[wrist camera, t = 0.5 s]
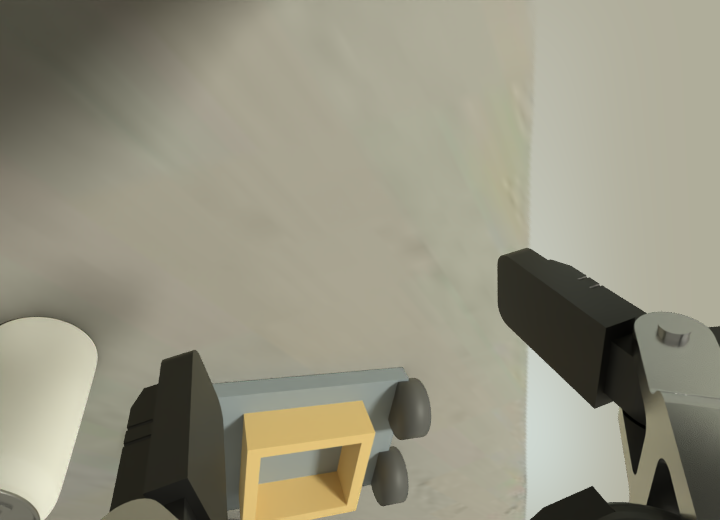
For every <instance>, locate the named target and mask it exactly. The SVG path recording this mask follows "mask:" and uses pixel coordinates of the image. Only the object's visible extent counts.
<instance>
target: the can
mask: <svg viewBox="0 0 720 520" xmlns="http://www.w3.org/2000/svg"><path fill="white" fill-rule="evenodd" d="M97 360H98V355H97V350H96V347H95V345H94V343H93V341H92V340H91V339H90V337H89V336H88V335H87V334H86V333H84V332H83V331H82V330H80V329H79V328H77V327H76V326H74V325H72V324H70V323H67V322H65V321H62V320H58V319H53V318H46V317H28V318H21V319H16V320H13V321H10V322H7V323H5V324H2V325H1V326H0V520H44V519H45V518H46V517H47V516H48V515H49V513H50V512H51V511H52V509H53V508H54V506H55V504H56V502H57V500H58V497H59V494H60V491H61V488H62V485H63V482H64V478H65V475H66V472H67V468H68V465H69V461H70V458H71V454H72V451H73V448H74V444H75V441H76V437H77V434H78V430H79V427H80V423H81V420H82V416H83V413H84V409H85V406H86V402H87V399H88V395H89V391H90V388H91V384H92V381H93V377H94V373H95V370H96V365H97Z"/></svg>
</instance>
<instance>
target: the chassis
mask: <svg viewBox="0 0 720 520" xmlns="http://www.w3.org/2000/svg"><path fill="white" fill-rule="evenodd" d="M212 385H213V387H214V390H215V392H216V394H217V397H218V399H219V402H220V406H221V410H222V415H223V425H224V448H225V472H226V495H227V511H228V510H234V509H239V508H240V518H241V520H311V519H316V518H321V517H326V516H331V515H336V514H341V513H346V512H351V511H356V507H357V503H358V500H359V496H360V492H361V488H362V486H366V485H371V486H372V490H373V493H374V496H375V498H376V500H377V502H378V503H379V504H380V505H381V506H386V505H391V504H396V503H401V502H404V501H405V500H406V498H407V495H408V475H407V469H406V465H405V462H404V459H403V457H402V455H401V453H400V451H399V450H398V449H397V448H396V447H394V446H392V447H390V444H391V441H392V437H393V434H394V435H395V436H396V437H397V438H398V439H399V440H404V439H411V438H418V437H424V436H425V435H426V434H427V433H428V431H429V429H430V424H431V407H430V401H429V397H428V394H427V391H426V389H425V387H424V385H423V384H422V383H421V381H420V380H418V379H416V378H408V376H407V374H406V373H405V371H404V369H403V367H400V368H388V369H377V370H366V371H354V372H343V373H332V374H320V375H309V376H298V377H286V378H275V379H264V380H252V381H241V382H230V383H218V384H212Z"/></svg>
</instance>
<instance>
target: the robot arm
mask: <svg viewBox="0 0 720 520" xmlns="http://www.w3.org/2000/svg"><path fill="white" fill-rule="evenodd" d="M498 308H499V312H500V314H501V317H502V319H503V320H504V322H505V323H506V324H507V325H508V327H510V328H511V329H512V330H513V331H514V332H515V333H516V334H517V335H518V336H519V337H520V338H521V339H522V340H523V341H524V342H525V343H526V344H527V345H528V346H529V347H530V348H532V349H533V350H534V351H535V352H536V353H537V354H538V355H539V356H540V357H541V358H542V359H543V360H544V361H545V362H546V363H547V364H548V365H549V366H550V367H551V368H553V369H554V370H555V371H556V372H557V373H558V374H559V375H560V376H561V377H562V378H563V379H564V380H565V381H566V382H567V383H568V384H569V385H570V386H571V387H573V389H575V390H576V391H577V392H578V393H579V394H580V395H581V396H582V397H583V398H584V399H585V400H586V401H587V402H588V403H589V404H590V405H591V406H592V407H593V408H598V407H600V406H602V405H605V404H608V403H610V402H612V401H614V402H615V403H616V404H617V405H618V406H619V413H618V420H619V425H620V433H621V439H622V445H623V452H624V458H625V464H626V470H627V477H628V482H629V495H630V496H629V503H626V502H609V503H607V502H606V501H605V500H604V499H603V498H602V497H601V495H600V494H599V493H598V492H597V491H596V490H595V489H594V487H593V486H591V487H589V488H587V489H585V490H582V491H580V492H578V493H575V494H573V495H571V496H569V497H566V498H564V499H562V500H560V501H557V502H555V503H553V504H550V505H548V506H546V507H544V508H543V509H542V510H540V511H539V512H538V513H537V514H536V515H535V516H534V517H533V518H531V519H530V520H720V326H718V327H707V326H705V325H704V324H703V323H701V322H699V321H698V320H695V319H693V318H690V317H688V316H685V315H682V314H677V313H672V312H652V313H648V314H647V313H645V312H644V311H642V310H641V309H639V308H637V307H636V306H634V305H633V304H631V303H629V302H628V301H626V300H624V299H623V298H621V297H620V296H618V295H617V294H615V293H613V292H612V291H610V290H609V289H607V288H605V287H604V286H600V285H599V283H597V282H596V281H594V280H593V279H591V278H587V277H586V275H584V274H583V273H581V272H580V271H578V270H576V269H575V268H573V267H572V266H570V265H566V264H563V263H560V262H557V261H554V260H547V259H545V258H544V257H542V256H541V255H539V254H538V253H536V252H535V251H533V250H531V249H529V248H525V249H521V250H518V251H515V252H512V253H509V254H505V255H502V256H500V257H499V259H498ZM127 429H128V431H126V435H125V439H124V447H123V449H122V454H121V459H120V464H119V469H118V474H117V478H116V483H115V488H114V493H113V498H112V503H111V508H110V512H109V513H108V514H107V515H106V516H104V517H103V518H102V519H101V520H228V518H227V495H226V472H225V448H224V425H223V415H222V410H221V406H220V402H219V399H218V397H217V394H216V392H215V390H214V387H213V385H212V383H211V380H210V378H209V376H208V373H207V371H206V369H205V367H204V364H203V362H202V360H201V357H200V355H199V353H198V352H197V351H196V350H193V351H190V352H186V353H183V354H180V355H177V356H173V357H170V358H167V359H164V360H162V363H161V369H160V376H159V383H158V384H157V385H153V386H150V387H147V388H144V389H143V391H142V392H141V394H140V395H139V397H138V398H137V400H136V401H135V403H134V404H133V406H132V407H131V410H130V415H129V420H128V425H127Z"/></svg>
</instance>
